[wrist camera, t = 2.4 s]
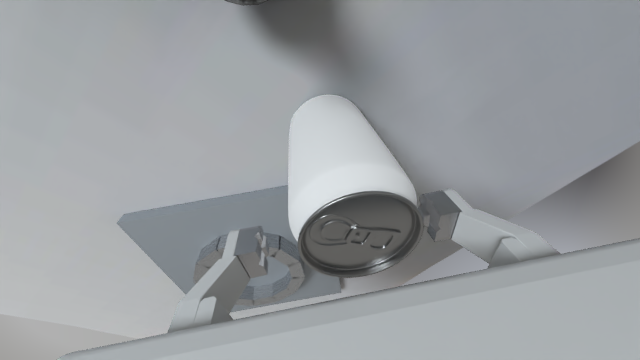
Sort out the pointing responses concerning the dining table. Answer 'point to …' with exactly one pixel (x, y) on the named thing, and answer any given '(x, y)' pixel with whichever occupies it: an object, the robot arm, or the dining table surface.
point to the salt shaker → (246, 2)
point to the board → (211, 222)
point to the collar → (262, 293)
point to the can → (347, 192)
